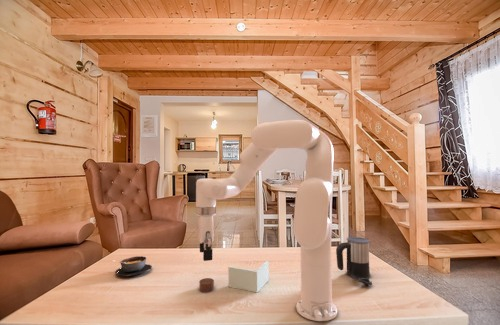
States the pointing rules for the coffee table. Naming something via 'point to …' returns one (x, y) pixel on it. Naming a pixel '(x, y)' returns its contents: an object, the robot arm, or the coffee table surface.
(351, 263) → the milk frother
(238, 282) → the right angle wall
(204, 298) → the coffee table surface
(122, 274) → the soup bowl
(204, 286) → the brown cylinder
